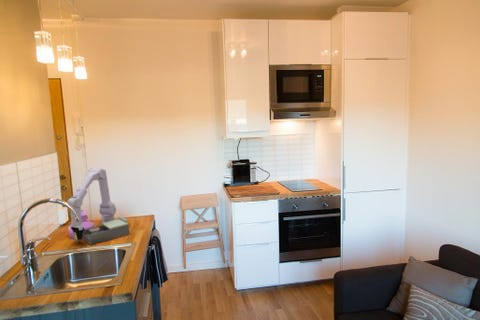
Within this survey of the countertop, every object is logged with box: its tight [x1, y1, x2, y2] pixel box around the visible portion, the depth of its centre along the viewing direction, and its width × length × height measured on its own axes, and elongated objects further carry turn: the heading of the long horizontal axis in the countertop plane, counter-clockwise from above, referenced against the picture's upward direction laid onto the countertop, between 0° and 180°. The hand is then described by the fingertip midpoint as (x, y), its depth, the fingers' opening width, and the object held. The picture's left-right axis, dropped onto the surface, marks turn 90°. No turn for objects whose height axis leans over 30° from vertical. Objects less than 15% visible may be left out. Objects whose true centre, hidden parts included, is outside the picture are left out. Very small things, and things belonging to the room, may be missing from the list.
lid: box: [101, 215, 130, 229], centre depth 201 cm, size 14×12×3 cm
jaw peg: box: [74, 232, 84, 243], centre depth 188 cm, size 4×4×6 cm
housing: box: [82, 224, 130, 246], centre depth 197 cm, size 14×24×6 cm, turn 133°
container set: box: [67, 209, 95, 240], centre depth 207 cm, size 25×15×13 cm, turn 25°
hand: (78, 238), depth 188 cm, fingers closed on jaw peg, 4 cm apart
